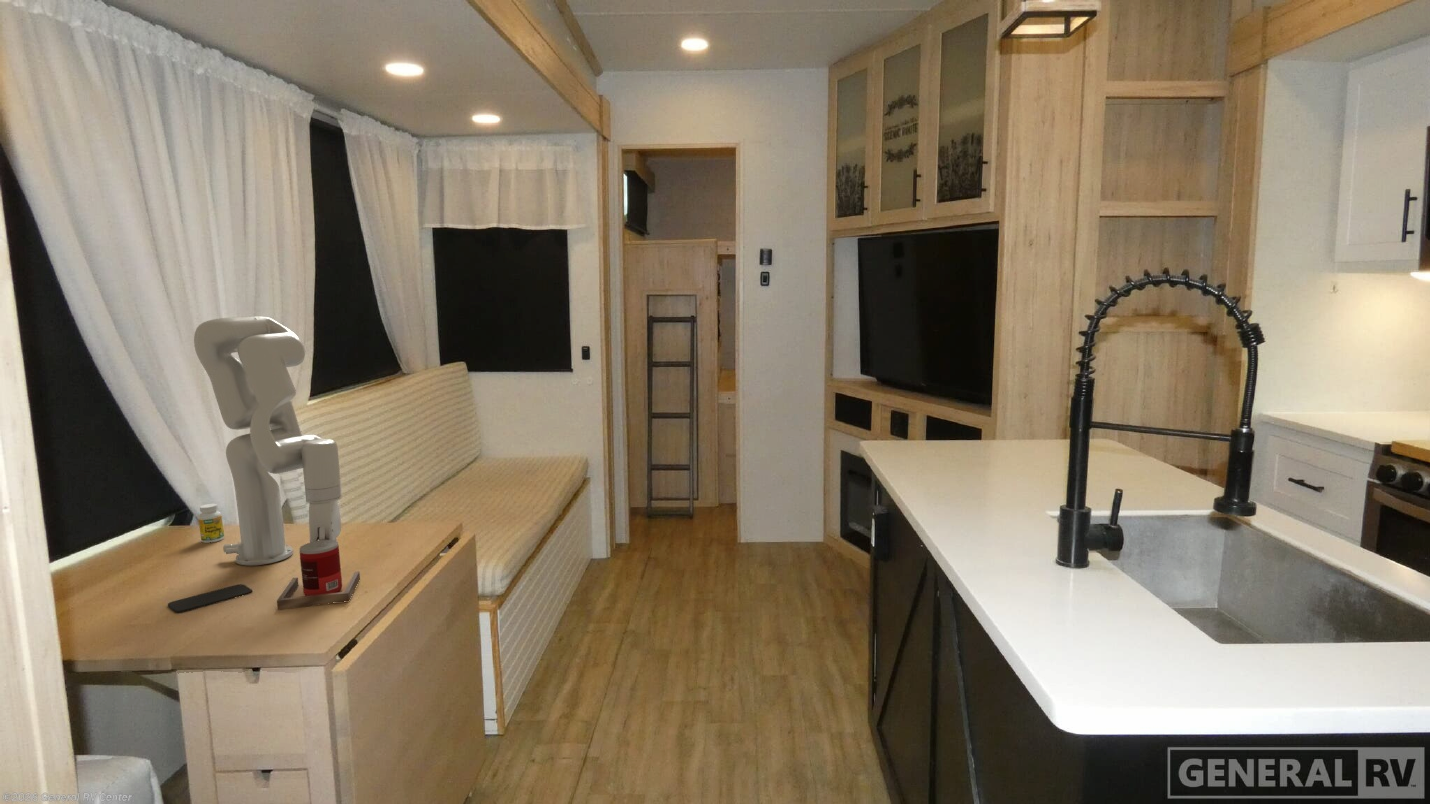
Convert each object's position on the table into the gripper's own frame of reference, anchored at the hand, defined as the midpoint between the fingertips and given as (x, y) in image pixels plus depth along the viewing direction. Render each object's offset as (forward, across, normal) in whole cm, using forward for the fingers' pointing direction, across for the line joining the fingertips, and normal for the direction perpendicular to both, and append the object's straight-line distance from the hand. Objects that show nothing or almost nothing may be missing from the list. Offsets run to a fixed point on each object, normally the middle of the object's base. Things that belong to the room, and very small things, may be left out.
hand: (330, 568), depth 192 cm
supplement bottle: (+2, -37, -38) cm, 53 cm away
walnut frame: (+1, +13, +1) cm, 13 cm away
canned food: (+2, +12, +1) cm, 12 cm away
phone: (+2, +9, -22) cm, 24 cm away
